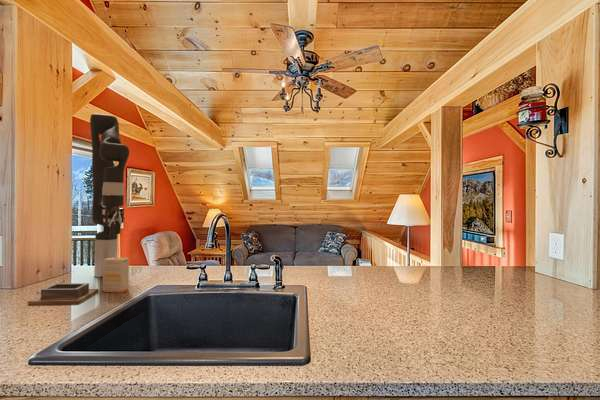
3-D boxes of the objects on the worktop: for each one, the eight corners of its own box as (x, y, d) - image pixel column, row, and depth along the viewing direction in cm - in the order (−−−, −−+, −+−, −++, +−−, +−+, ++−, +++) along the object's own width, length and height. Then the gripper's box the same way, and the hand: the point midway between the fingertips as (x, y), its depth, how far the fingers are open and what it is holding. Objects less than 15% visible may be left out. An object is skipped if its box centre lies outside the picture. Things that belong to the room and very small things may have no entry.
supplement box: (128, 290, 140) (129, 257, 140) (121, 293, 136) (122, 259, 136) (109, 289, 141) (110, 256, 141) (101, 292, 136) (102, 258, 136)
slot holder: (54, 292, 134) (54, 281, 134) (98, 291, 137) (98, 281, 137) (27, 304, 119) (28, 292, 119) (78, 304, 121) (78, 292, 121)
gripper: (112, 193, 144) (111, 233, 144) (93, 193, 130) (92, 237, 130) (130, 194, 144) (129, 233, 144) (114, 194, 130) (113, 237, 130)
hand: (112, 235), depth 137 cm, fingers open, 8 cm apart
